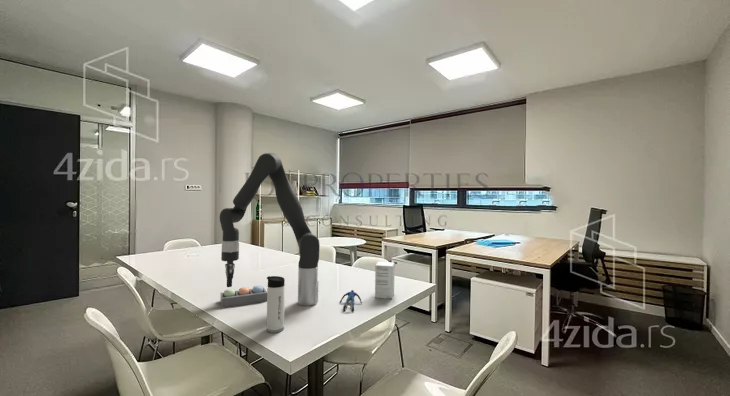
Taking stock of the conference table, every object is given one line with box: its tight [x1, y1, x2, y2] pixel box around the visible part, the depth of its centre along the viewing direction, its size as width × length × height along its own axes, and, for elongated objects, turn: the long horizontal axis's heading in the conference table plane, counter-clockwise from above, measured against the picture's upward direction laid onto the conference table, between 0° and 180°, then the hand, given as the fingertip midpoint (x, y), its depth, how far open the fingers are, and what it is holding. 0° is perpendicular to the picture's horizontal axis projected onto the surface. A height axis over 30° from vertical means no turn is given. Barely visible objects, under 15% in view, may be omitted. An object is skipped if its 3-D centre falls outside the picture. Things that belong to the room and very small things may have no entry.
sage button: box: [223, 288, 236, 297], centre depth 138 cm, size 5×5×4 cm
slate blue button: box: [252, 285, 264, 293], centre depth 144 cm, size 5×5×4 cm
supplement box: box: [374, 261, 396, 299], centre depth 153 cm, size 10×9×17 cm
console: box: [219, 286, 267, 309], centre depth 141 cm, size 20×10×4 cm, turn 119°
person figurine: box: [339, 289, 363, 312], centre depth 138 cm, size 11×4×18 cm
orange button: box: [238, 286, 250, 295], centre depth 141 cm, size 5×5×4 cm
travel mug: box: [266, 275, 286, 334], centre depth 111 cm, size 6×7×20 cm
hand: (229, 286), depth 138 cm, fingers closed
